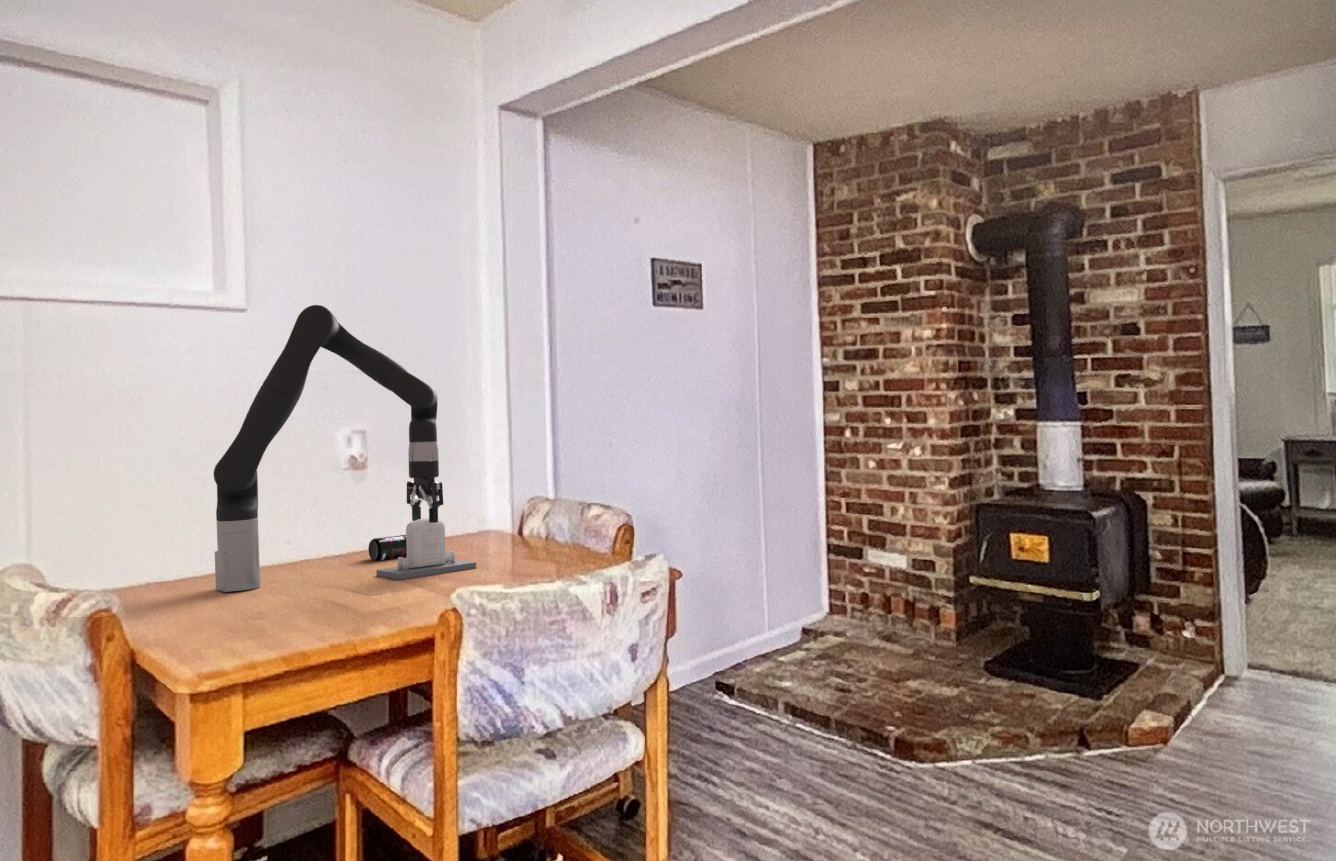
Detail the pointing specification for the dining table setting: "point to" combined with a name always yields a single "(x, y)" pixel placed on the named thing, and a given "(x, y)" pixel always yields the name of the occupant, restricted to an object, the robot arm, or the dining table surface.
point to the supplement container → (387, 547)
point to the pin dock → (425, 568)
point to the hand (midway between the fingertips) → (425, 521)
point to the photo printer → (425, 543)
